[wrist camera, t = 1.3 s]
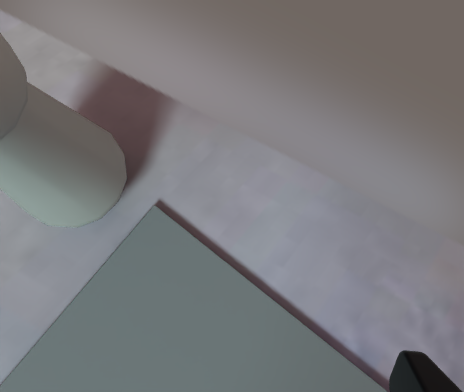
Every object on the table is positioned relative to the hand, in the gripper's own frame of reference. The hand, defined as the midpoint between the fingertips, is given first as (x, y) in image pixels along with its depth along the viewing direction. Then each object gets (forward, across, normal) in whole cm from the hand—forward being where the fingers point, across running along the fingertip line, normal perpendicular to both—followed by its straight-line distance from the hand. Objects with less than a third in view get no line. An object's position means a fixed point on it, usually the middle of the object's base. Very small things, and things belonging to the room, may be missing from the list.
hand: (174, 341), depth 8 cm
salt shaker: (+15, +8, +5) cm, 17 cm away
